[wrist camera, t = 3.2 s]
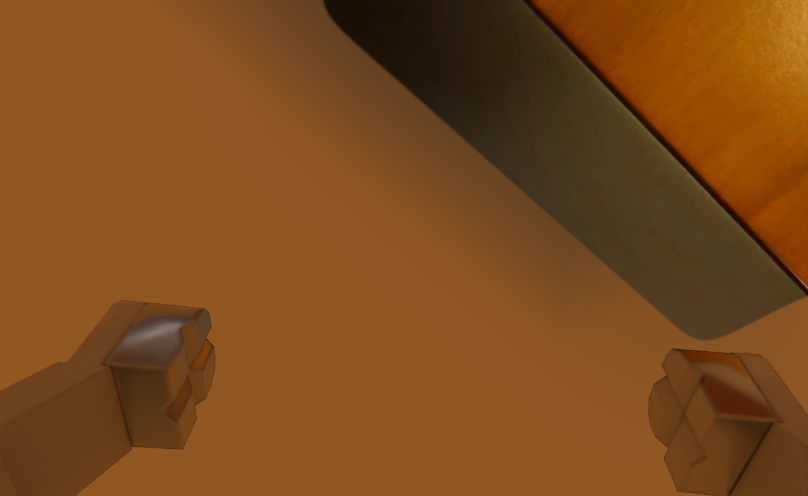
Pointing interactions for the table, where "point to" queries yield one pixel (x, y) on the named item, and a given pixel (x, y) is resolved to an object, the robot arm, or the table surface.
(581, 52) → the table surface
